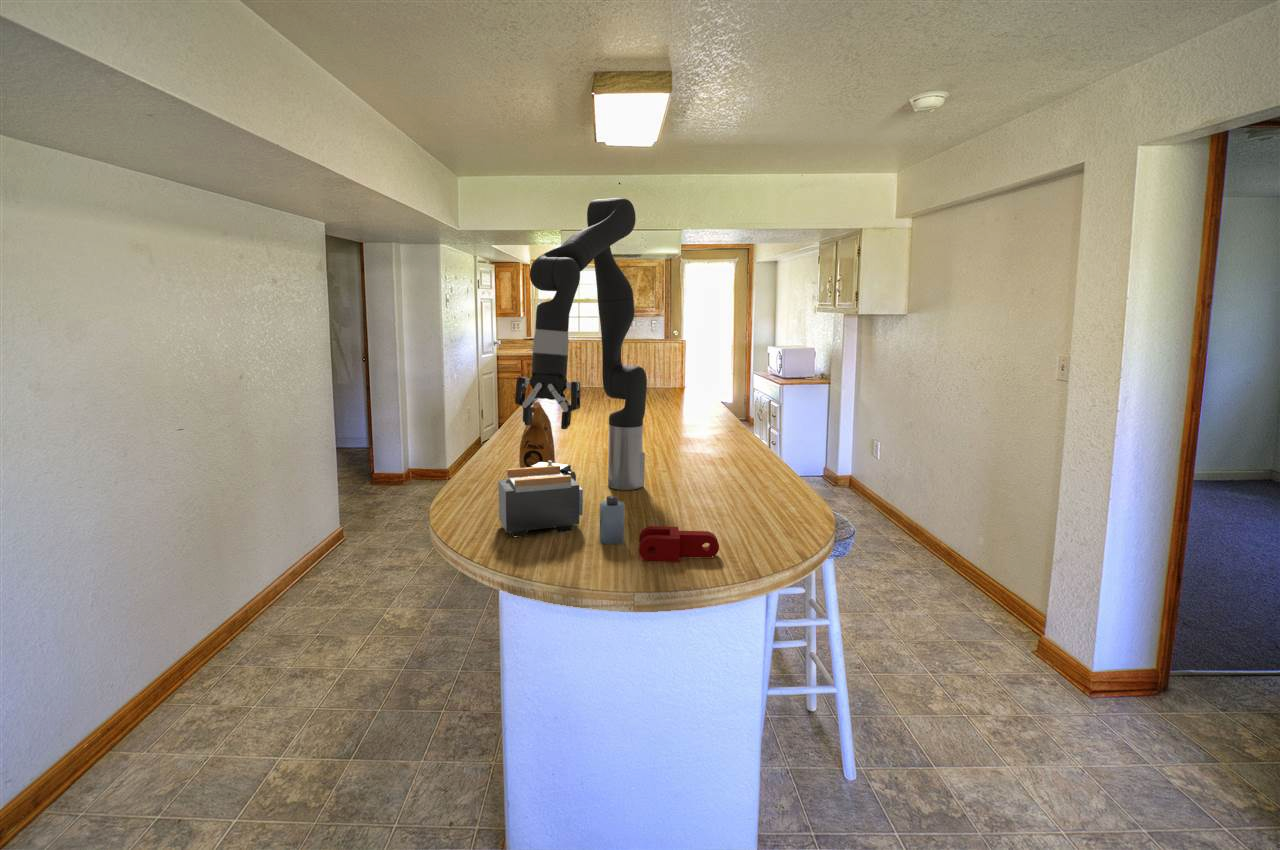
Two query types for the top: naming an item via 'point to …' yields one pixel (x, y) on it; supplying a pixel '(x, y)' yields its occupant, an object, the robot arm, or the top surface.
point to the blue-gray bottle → (612, 521)
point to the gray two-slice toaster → (539, 500)
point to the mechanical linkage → (675, 544)
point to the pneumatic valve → (563, 468)
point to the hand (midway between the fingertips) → (546, 427)
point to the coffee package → (537, 439)
